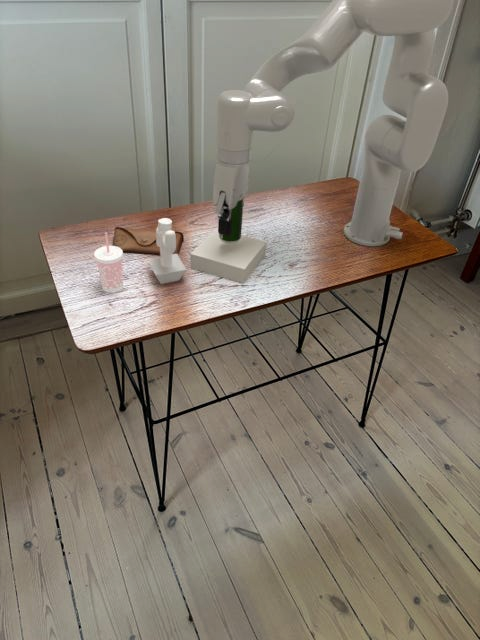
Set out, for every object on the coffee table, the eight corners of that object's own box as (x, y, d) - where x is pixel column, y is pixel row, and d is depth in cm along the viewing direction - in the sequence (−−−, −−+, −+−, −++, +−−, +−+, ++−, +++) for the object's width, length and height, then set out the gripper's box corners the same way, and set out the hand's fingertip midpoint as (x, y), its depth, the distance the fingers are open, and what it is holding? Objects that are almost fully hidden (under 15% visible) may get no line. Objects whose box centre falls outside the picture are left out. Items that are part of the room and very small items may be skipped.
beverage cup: (93, 286, 116) (84, 232, 107) (115, 275, 120) (108, 222, 111) (110, 298, 113) (102, 243, 104) (132, 286, 117) (126, 232, 108)
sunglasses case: (107, 253, 127) (108, 226, 126) (114, 252, 134) (115, 226, 133) (179, 258, 127) (181, 230, 126) (183, 257, 134) (184, 231, 133)
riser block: (265, 255, 130) (266, 241, 127) (243, 283, 120) (244, 269, 117) (215, 241, 134) (215, 228, 131) (190, 267, 124) (190, 253, 121)
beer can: (226, 246, 120) (228, 199, 112) (214, 236, 123) (215, 189, 116) (245, 240, 122) (248, 194, 115) (233, 230, 126) (235, 185, 118)
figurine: (176, 264, 125) (174, 208, 115) (188, 285, 118) (187, 228, 109) (147, 269, 122) (142, 212, 113) (157, 291, 116) (154, 233, 106)
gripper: (234, 137, 117) (230, 210, 128) (200, 163, 104) (199, 240, 116) (264, 144, 115) (258, 217, 126) (233, 171, 102) (229, 249, 114)
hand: (230, 227), depth 121 cm, fingers closed on beer can, 5 cm apart
